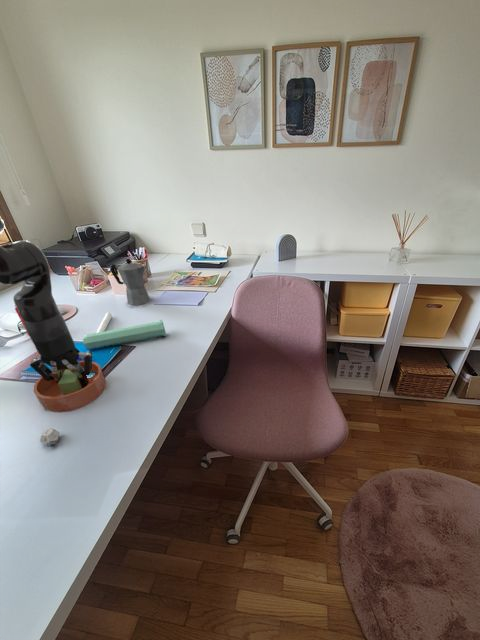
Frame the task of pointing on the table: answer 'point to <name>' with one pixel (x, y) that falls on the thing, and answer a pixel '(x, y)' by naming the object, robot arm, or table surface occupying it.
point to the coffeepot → (132, 281)
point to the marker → (104, 323)
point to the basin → (58, 402)
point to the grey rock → (49, 436)
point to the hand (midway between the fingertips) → (75, 388)
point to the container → (124, 335)
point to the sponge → (69, 383)
